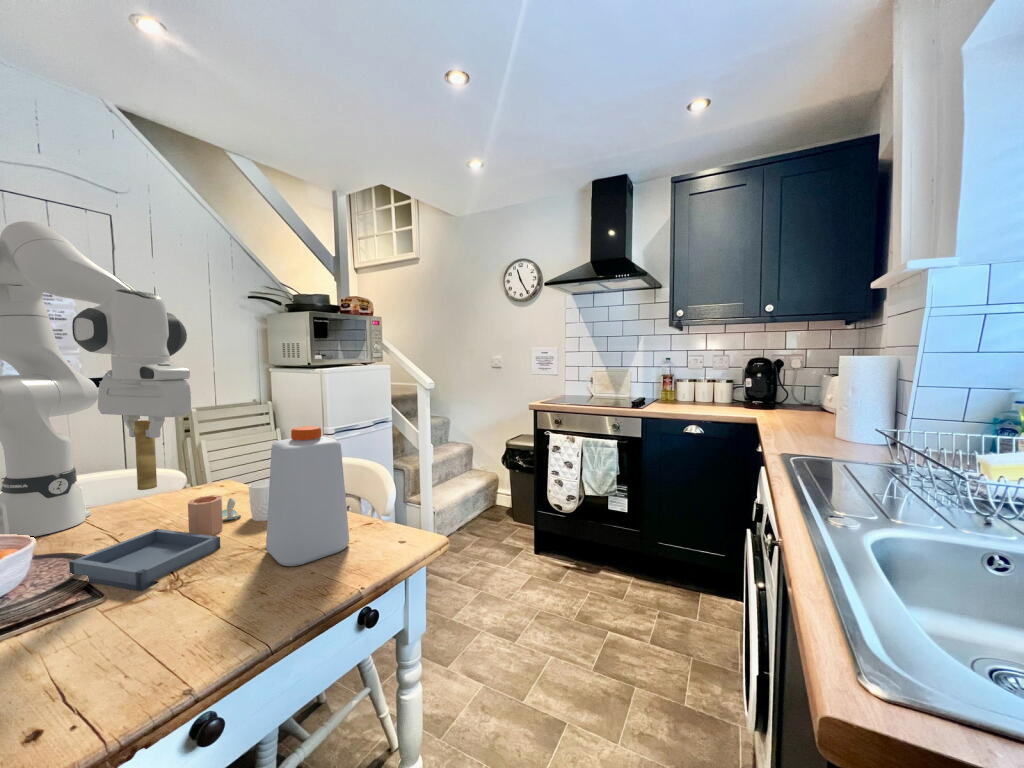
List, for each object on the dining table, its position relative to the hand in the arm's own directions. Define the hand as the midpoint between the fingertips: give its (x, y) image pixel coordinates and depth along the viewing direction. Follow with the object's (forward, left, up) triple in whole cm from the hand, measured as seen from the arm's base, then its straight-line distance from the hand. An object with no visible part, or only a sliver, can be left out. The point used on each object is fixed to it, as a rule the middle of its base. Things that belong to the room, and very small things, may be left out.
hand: (145, 437), depth 83 cm
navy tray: (0, 0, -27) cm, 27 cm away
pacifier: (-5, +22, -27) cm, 36 cm away
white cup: (+4, +26, -27) cm, 38 cm away
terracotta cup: (-2, +14, -27) cm, 30 cm away
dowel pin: (0, 0, -11) cm, 11 cm away
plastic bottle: (+27, +14, -27) cm, 41 cm away
